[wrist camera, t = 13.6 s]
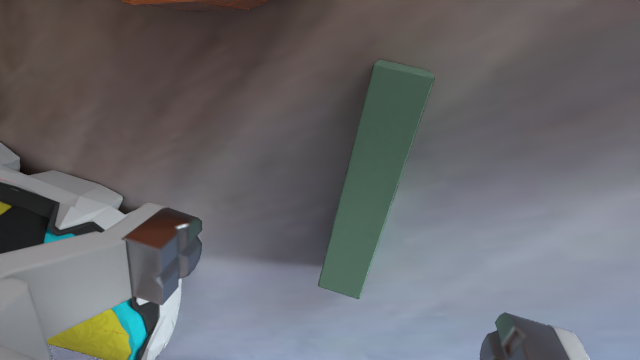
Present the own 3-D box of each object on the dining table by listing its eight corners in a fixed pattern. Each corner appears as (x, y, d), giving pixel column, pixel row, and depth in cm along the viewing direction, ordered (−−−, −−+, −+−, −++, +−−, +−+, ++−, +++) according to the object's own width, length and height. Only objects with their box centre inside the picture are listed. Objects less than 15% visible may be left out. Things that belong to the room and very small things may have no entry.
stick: (377, 58, 13) (373, 63, 11) (430, 70, 13) (435, 77, 11) (326, 259, 18) (317, 286, 16) (363, 271, 18) (359, 300, 16)
